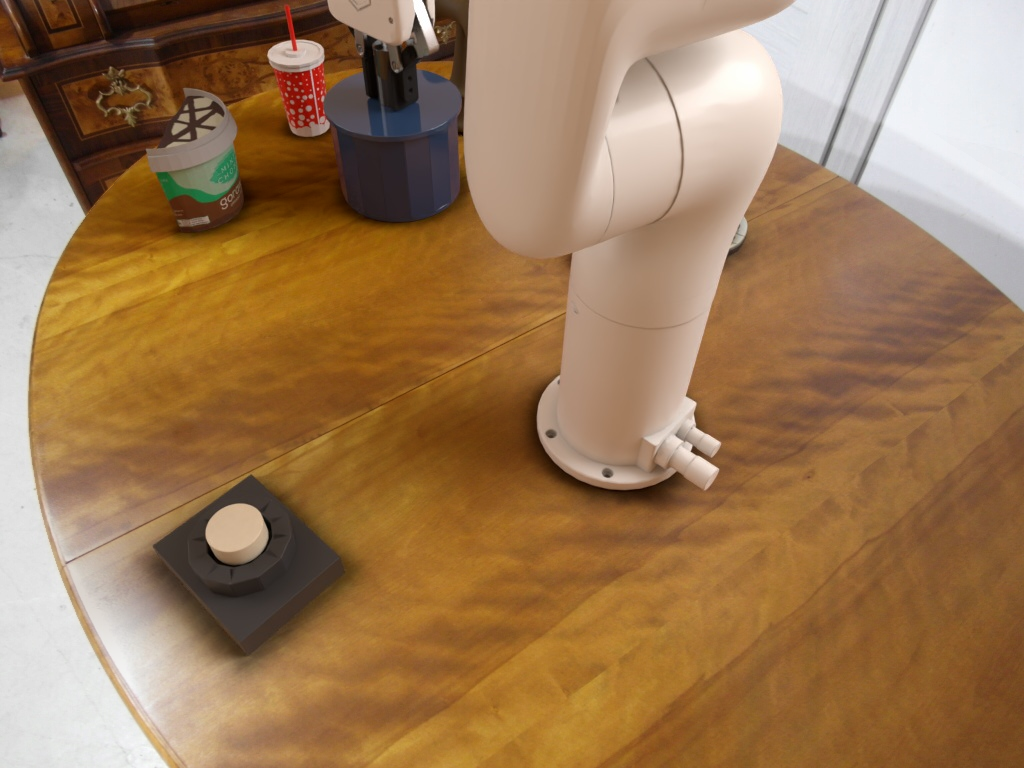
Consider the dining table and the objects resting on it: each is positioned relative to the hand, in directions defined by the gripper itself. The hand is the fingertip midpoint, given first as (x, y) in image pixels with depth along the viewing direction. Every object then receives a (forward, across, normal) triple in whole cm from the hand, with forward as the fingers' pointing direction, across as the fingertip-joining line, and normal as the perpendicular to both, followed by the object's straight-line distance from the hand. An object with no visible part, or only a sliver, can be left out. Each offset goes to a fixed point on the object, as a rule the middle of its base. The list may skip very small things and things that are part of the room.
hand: (392, 97), depth 76 cm
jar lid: (+1, 0, 0) cm, 1 cm away
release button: (+7, +26, -38) cm, 47 cm away
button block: (+10, +26, -38) cm, 47 cm away
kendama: (+11, -4, +14) cm, 18 cm away
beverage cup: (+11, -17, +1) cm, 20 cm away
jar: (+10, 0, 0) cm, 10 cm away
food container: (+11, -11, -15) cm, 21 cm away
